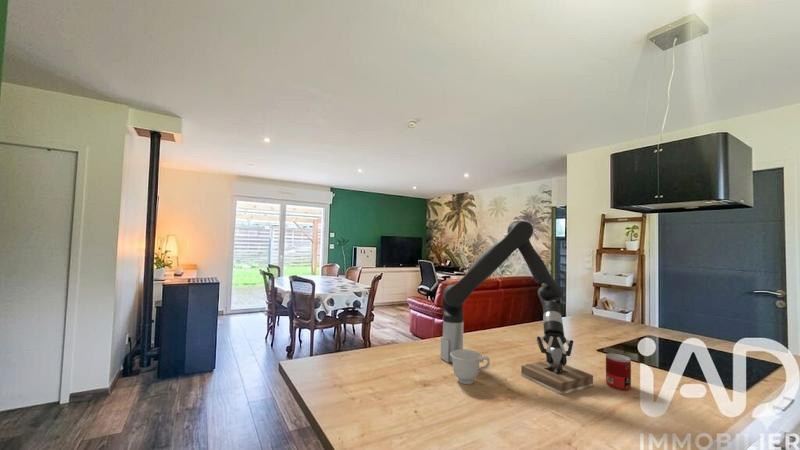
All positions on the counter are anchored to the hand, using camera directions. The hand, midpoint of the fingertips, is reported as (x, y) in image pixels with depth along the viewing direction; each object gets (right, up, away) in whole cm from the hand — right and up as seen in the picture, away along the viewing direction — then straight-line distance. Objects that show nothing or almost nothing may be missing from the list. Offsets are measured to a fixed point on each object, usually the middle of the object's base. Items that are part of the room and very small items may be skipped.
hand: (556, 363), depth 128 cm
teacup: (-34, -6, -1) cm, 35 cm away
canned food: (+22, -8, -2) cm, 24 cm away
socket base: (0, -7, +1) cm, 7 cm away
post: (0, -5, +2) cm, 5 cm away
